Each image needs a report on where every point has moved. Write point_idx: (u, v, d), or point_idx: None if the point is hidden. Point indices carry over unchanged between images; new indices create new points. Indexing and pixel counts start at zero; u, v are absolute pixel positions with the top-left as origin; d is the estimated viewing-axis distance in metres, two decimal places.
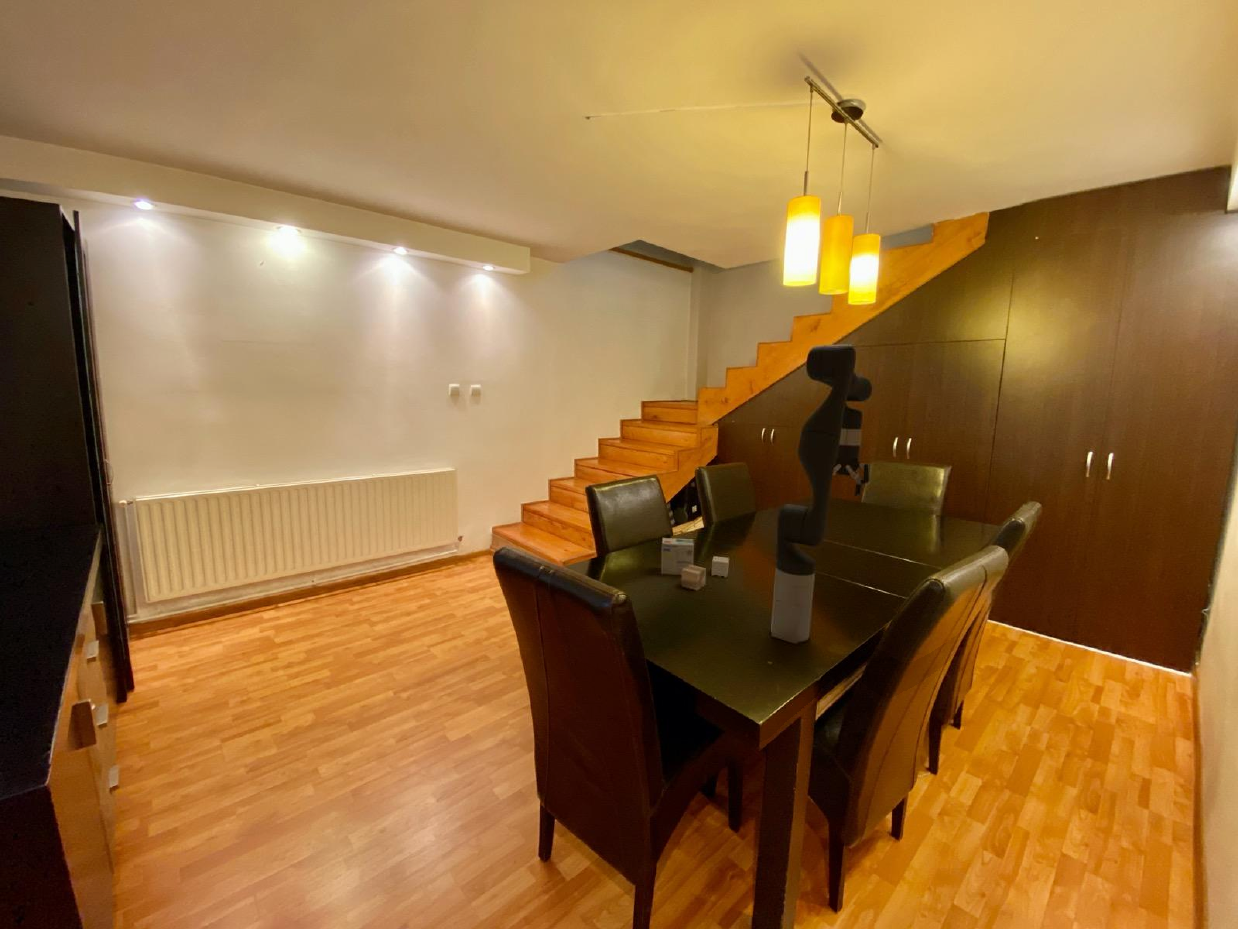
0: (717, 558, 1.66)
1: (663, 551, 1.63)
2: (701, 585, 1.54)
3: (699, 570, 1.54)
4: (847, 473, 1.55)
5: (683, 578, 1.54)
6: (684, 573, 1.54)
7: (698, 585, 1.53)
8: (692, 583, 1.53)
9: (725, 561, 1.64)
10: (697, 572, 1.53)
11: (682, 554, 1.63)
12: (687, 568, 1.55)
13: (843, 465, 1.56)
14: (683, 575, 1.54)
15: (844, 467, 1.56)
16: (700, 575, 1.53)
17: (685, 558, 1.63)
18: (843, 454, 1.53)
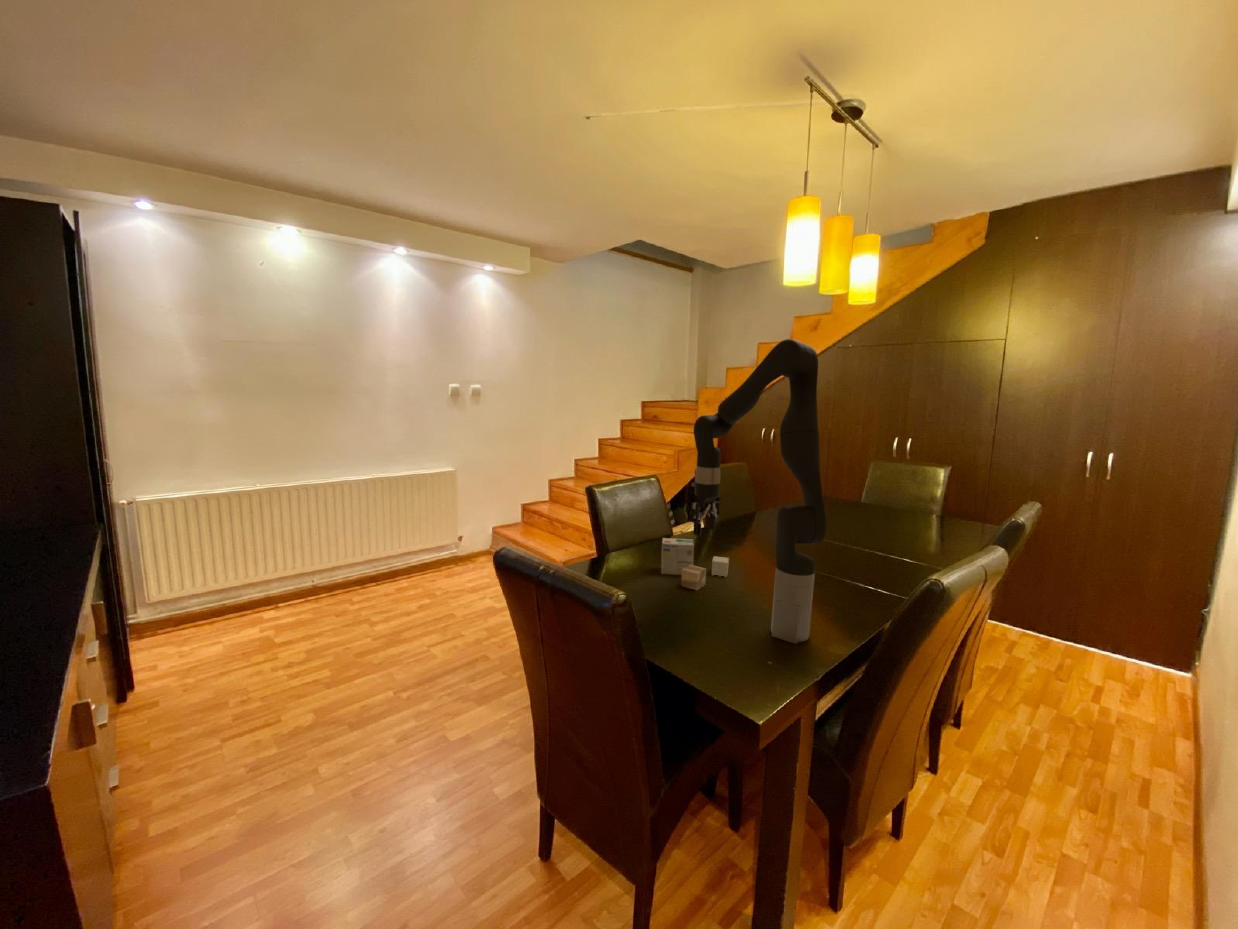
0: (717, 558, 1.66)
1: (663, 551, 1.63)
2: (701, 585, 1.54)
3: (699, 570, 1.54)
4: (710, 510, 1.53)
5: (683, 578, 1.54)
6: (684, 573, 1.54)
7: (698, 585, 1.53)
8: (692, 583, 1.53)
9: (725, 561, 1.64)
10: (697, 572, 1.53)
11: (682, 554, 1.63)
12: (687, 568, 1.55)
13: (708, 504, 1.52)
14: (683, 575, 1.54)
15: None
16: (700, 575, 1.53)
17: (685, 558, 1.63)
18: (717, 493, 1.50)
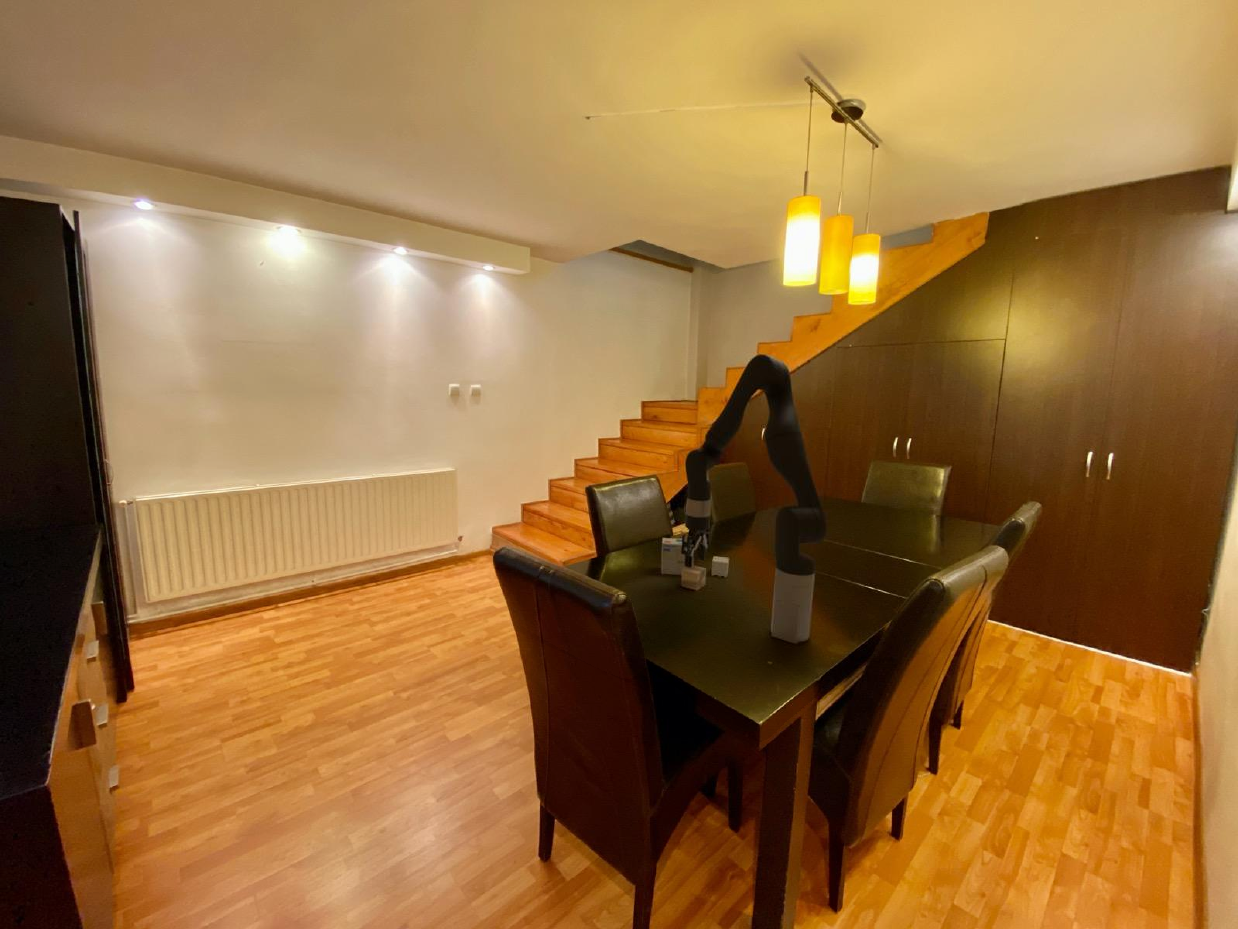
0: (717, 558, 1.66)
1: (663, 551, 1.63)
2: (701, 586, 1.54)
3: (699, 570, 1.54)
4: (701, 542, 1.54)
5: (683, 578, 1.54)
6: (684, 573, 1.54)
7: (698, 585, 1.53)
8: (692, 583, 1.53)
9: (725, 561, 1.64)
10: (697, 572, 1.53)
11: (682, 554, 1.63)
12: (687, 568, 1.55)
13: (699, 535, 1.53)
14: (683, 575, 1.54)
15: None
16: (700, 575, 1.53)
17: None
18: (708, 525, 1.51)
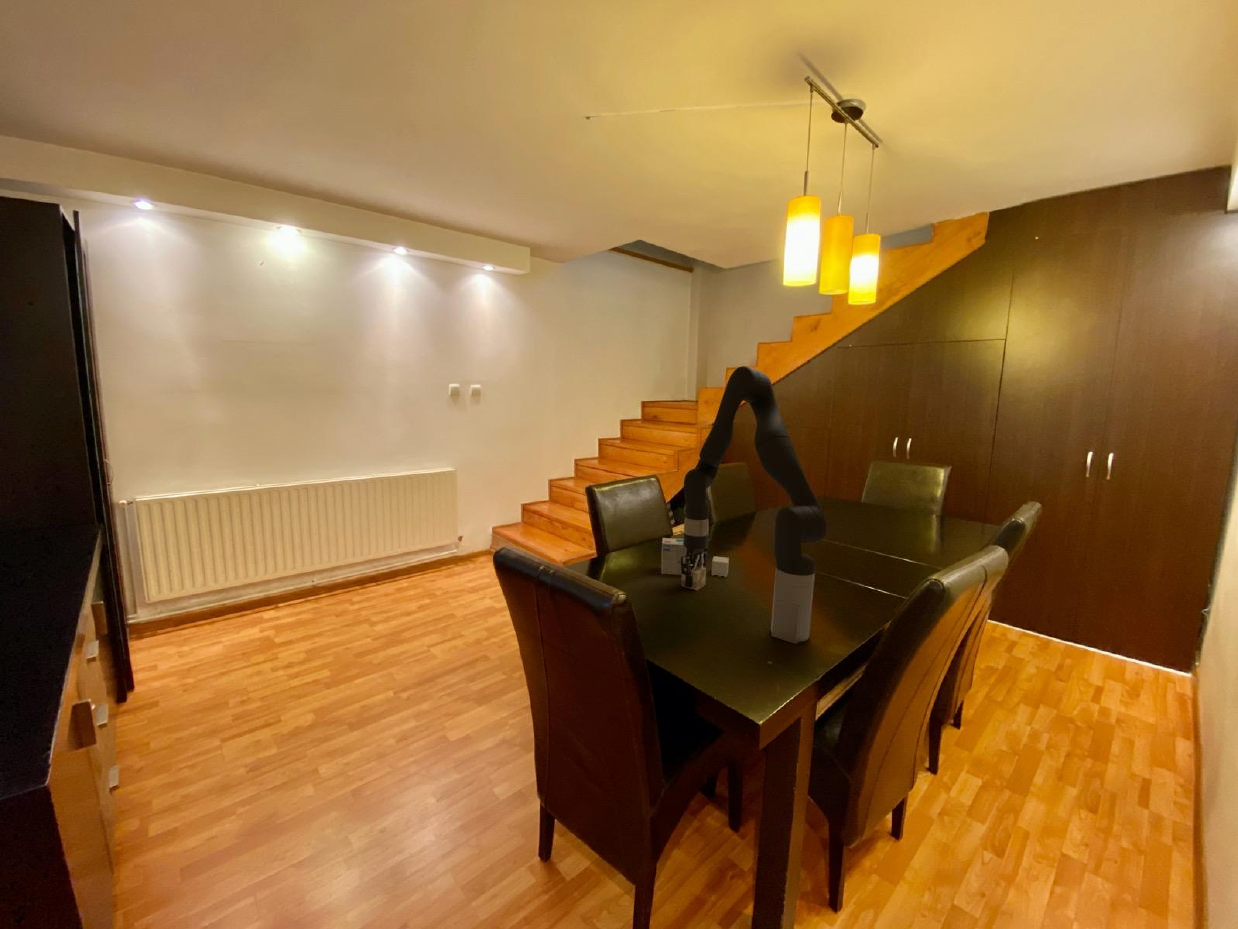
0: (717, 558, 1.66)
1: (663, 551, 1.63)
2: (701, 585, 1.54)
3: (699, 569, 1.54)
4: (699, 560, 1.55)
5: (683, 577, 1.54)
6: None
7: (698, 585, 1.52)
8: (692, 583, 1.53)
9: (725, 561, 1.64)
10: (697, 571, 1.52)
11: (682, 554, 1.63)
12: None
13: (697, 554, 1.53)
14: (683, 575, 1.54)
15: None
16: (700, 575, 1.53)
17: None
18: (706, 544, 1.52)
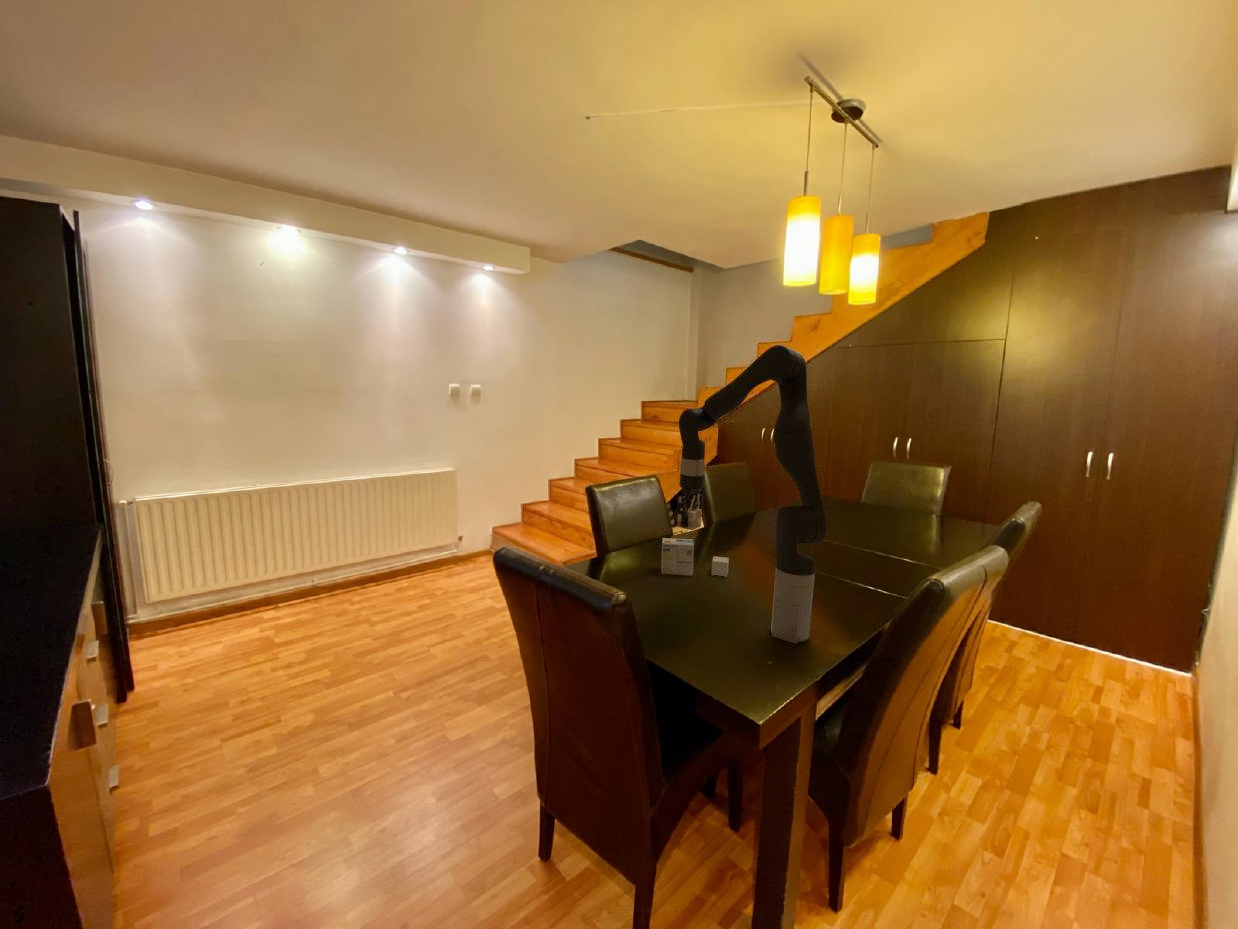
0: (717, 558, 1.66)
1: (663, 551, 1.63)
2: (697, 526, 1.56)
3: (694, 510, 1.56)
4: (695, 501, 1.57)
5: (679, 518, 1.56)
6: None
7: (694, 525, 1.55)
8: (688, 523, 1.55)
9: (725, 561, 1.64)
10: (693, 512, 1.55)
11: (682, 554, 1.63)
12: None
13: (693, 495, 1.55)
14: (679, 515, 1.56)
15: None
16: (696, 515, 1.55)
17: (685, 558, 1.63)
18: (702, 484, 1.53)
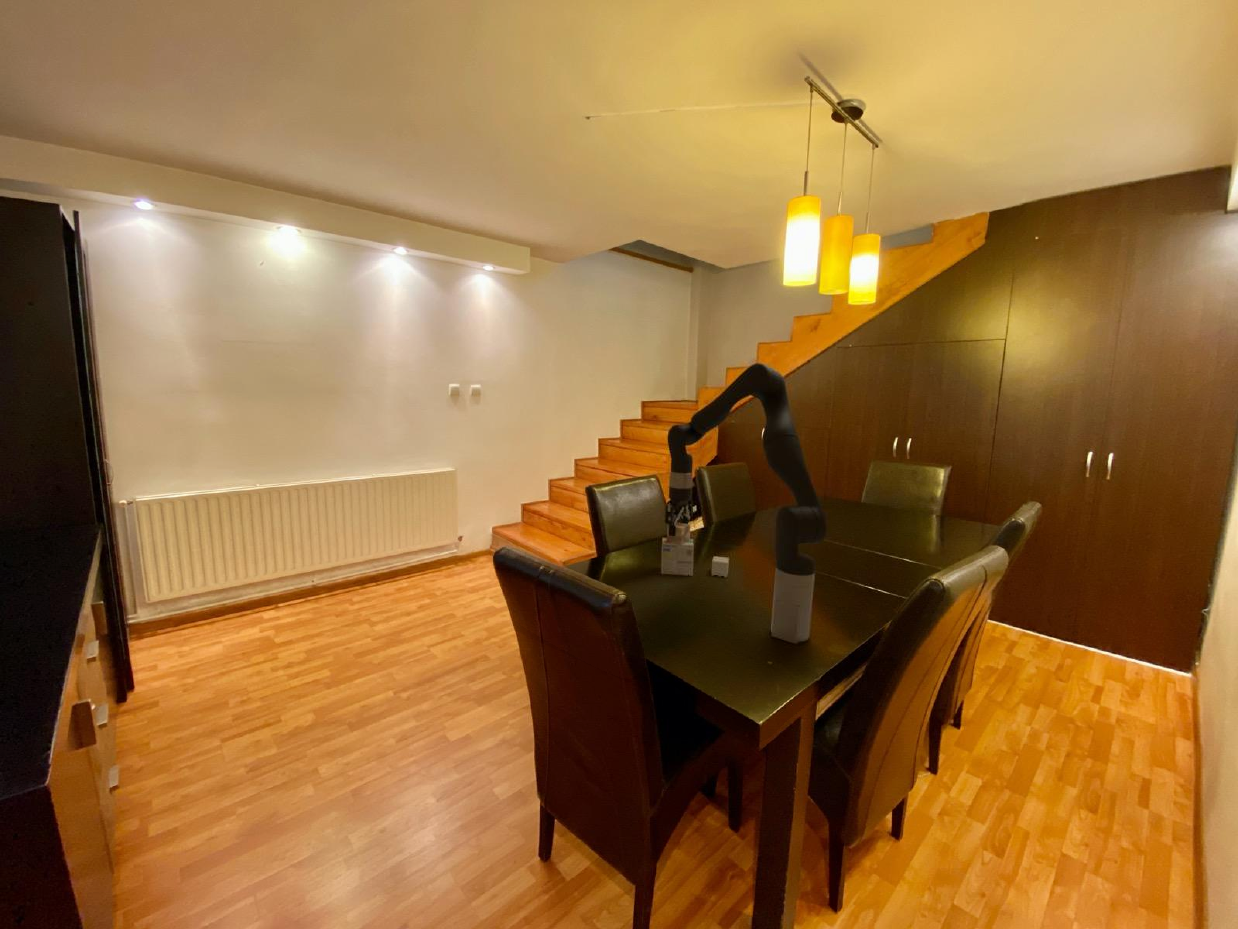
0: (717, 558, 1.66)
1: (663, 551, 1.63)
2: (686, 540, 1.64)
3: (683, 525, 1.64)
4: (684, 513, 1.64)
5: None
6: None
7: (682, 539, 1.62)
8: (677, 538, 1.62)
9: (725, 561, 1.64)
10: (681, 527, 1.62)
11: (682, 554, 1.63)
12: None
13: None
14: (668, 530, 1.64)
15: None
16: (684, 530, 1.63)
17: (685, 558, 1.63)
18: (690, 496, 1.61)
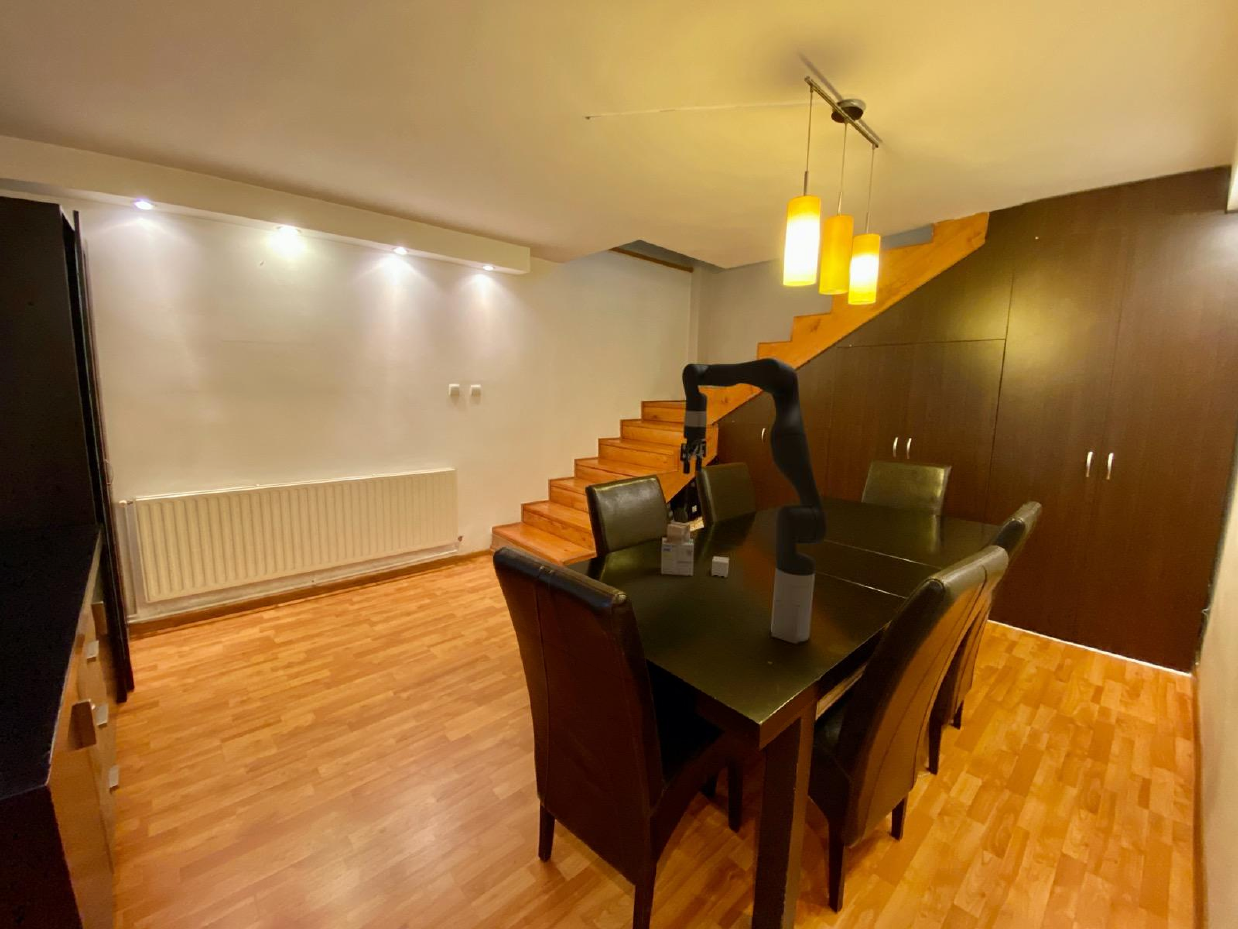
0: (717, 558, 1.66)
1: (663, 551, 1.63)
2: (686, 540, 1.64)
3: (683, 525, 1.64)
4: (698, 452, 1.68)
5: (669, 533, 1.64)
6: (669, 528, 1.64)
7: (682, 539, 1.62)
8: (677, 538, 1.62)
9: (725, 561, 1.64)
10: (681, 527, 1.62)
11: (682, 554, 1.63)
12: (672, 524, 1.65)
13: None
14: (669, 530, 1.64)
15: None
16: (684, 530, 1.63)
17: (685, 558, 1.63)
18: (704, 435, 1.65)
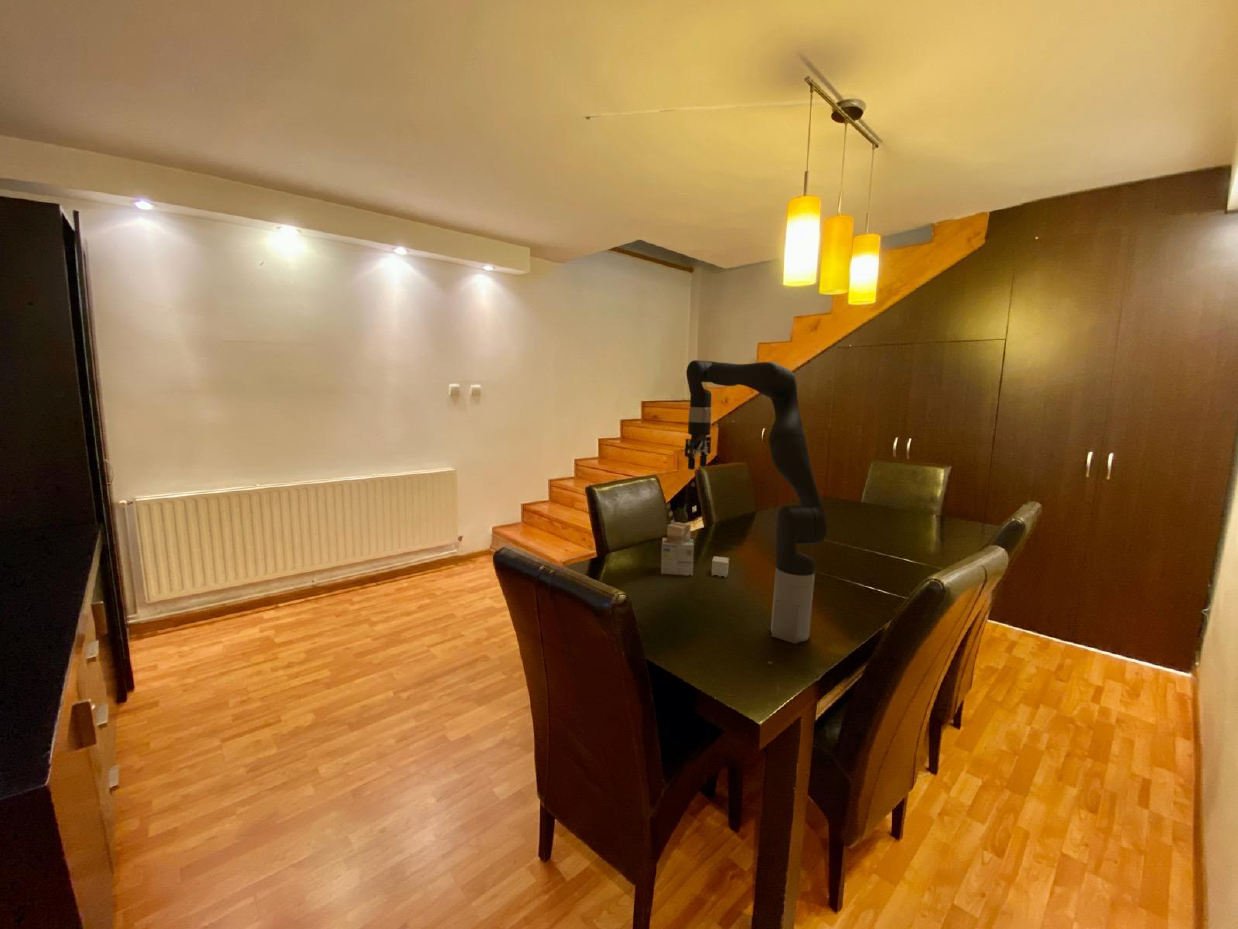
0: (717, 558, 1.66)
1: (663, 551, 1.63)
2: (686, 540, 1.64)
3: (683, 525, 1.64)
4: (702, 448, 1.70)
5: (669, 533, 1.64)
6: (669, 528, 1.64)
7: (682, 539, 1.62)
8: (677, 538, 1.63)
9: (725, 561, 1.64)
10: (681, 527, 1.62)
11: (682, 554, 1.63)
12: (673, 524, 1.65)
13: None
14: (669, 530, 1.64)
15: None
16: (685, 530, 1.63)
17: (685, 558, 1.63)
18: (709, 430, 1.67)
